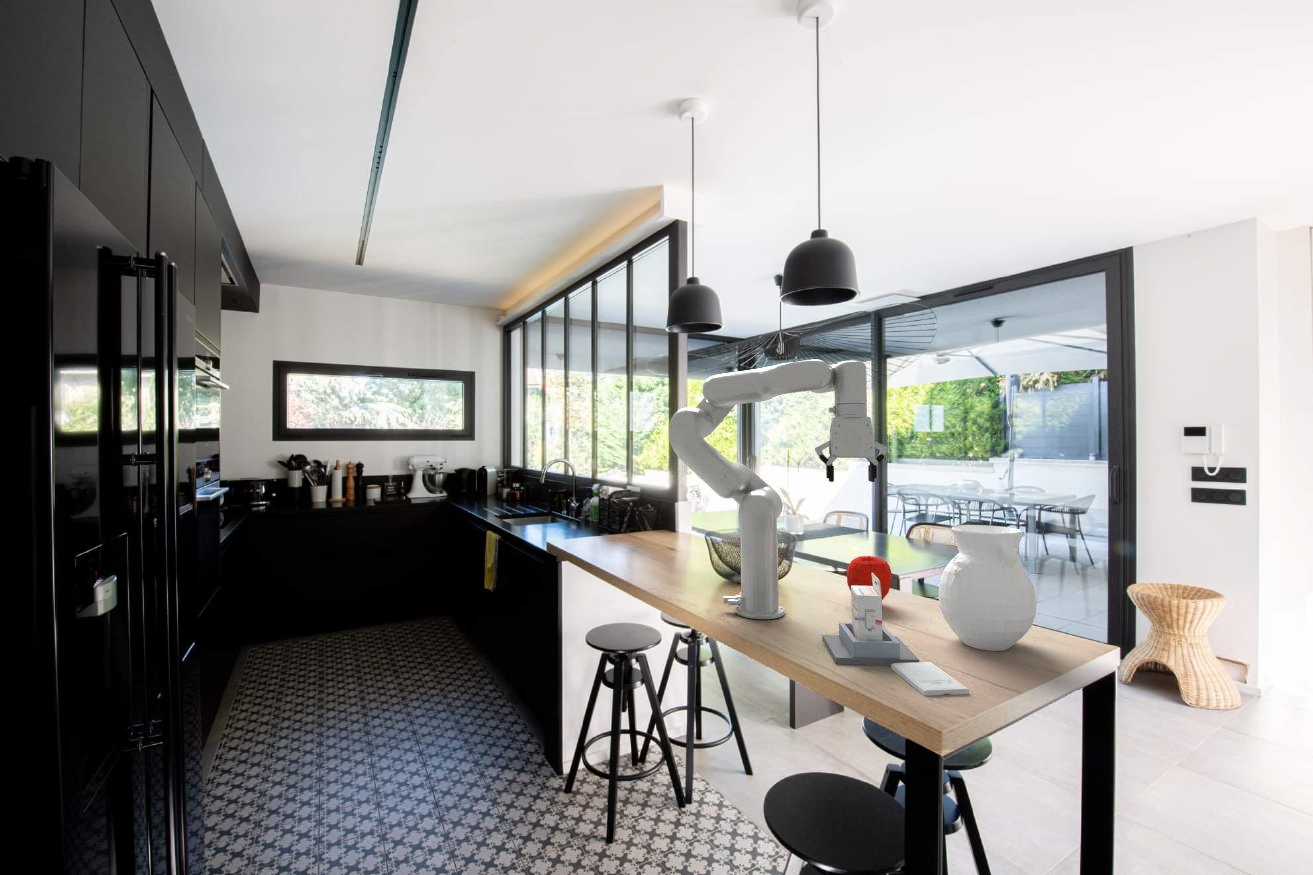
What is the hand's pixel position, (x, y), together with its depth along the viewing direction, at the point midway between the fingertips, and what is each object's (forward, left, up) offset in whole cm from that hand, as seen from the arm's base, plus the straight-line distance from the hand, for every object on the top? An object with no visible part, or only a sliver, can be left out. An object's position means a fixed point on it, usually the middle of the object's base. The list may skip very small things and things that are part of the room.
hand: (851, 481), depth 145 cm
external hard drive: (+5, -36, -35) cm, 50 cm away
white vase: (+25, -14, -34) cm, 45 cm away
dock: (-2, -21, -34) cm, 40 cm away
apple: (+8, +15, -34) cm, 39 cm away
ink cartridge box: (-2, -21, -33) cm, 40 cm away
